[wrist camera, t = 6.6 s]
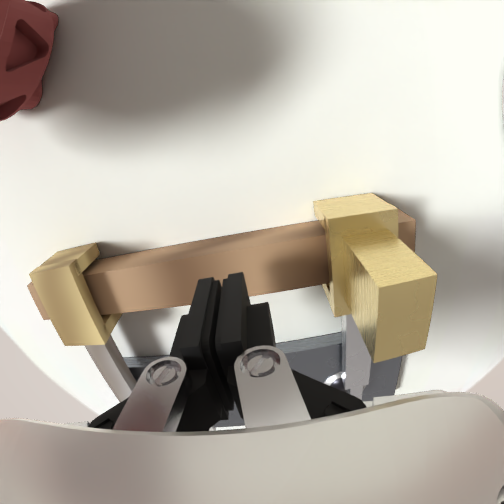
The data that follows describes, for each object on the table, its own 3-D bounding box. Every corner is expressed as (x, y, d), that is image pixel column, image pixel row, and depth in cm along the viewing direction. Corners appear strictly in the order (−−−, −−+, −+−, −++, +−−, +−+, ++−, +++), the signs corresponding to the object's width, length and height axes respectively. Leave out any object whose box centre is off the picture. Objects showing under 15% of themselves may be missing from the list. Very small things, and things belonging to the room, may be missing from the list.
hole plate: (400, 318, 17) (407, 329, 16) (389, 388, 20) (393, 399, 19) (108, 358, 18) (102, 368, 17) (146, 417, 21) (143, 428, 20)
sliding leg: (371, 191, 14) (452, 246, 7) (367, 377, 19) (397, 458, 12) (313, 200, 14) (362, 265, 8) (327, 386, 19) (346, 472, 13)
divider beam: (397, 187, 14) (428, 204, 11) (387, 370, 19) (401, 403, 16) (37, 254, 15) (8, 278, 12) (115, 400, 20) (103, 430, 18)
